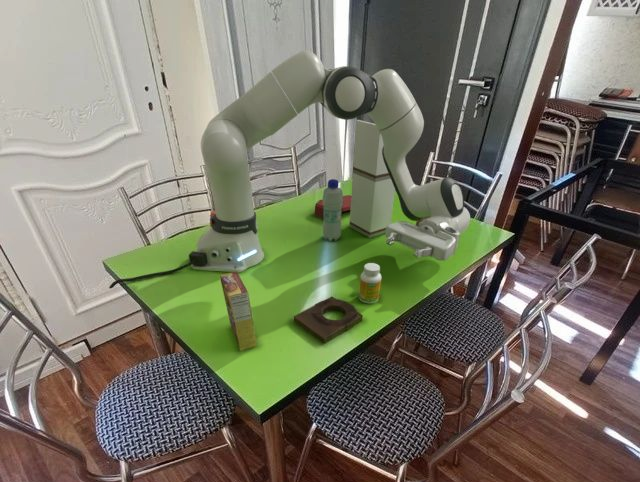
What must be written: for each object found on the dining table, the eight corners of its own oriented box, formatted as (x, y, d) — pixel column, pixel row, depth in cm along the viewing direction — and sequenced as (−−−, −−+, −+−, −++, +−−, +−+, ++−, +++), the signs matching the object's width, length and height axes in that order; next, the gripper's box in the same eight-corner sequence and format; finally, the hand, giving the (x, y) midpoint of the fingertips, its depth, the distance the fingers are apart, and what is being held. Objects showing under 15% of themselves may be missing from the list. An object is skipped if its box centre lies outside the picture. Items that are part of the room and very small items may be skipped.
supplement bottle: (364, 306, 95) (368, 274, 89) (355, 295, 99) (357, 263, 93) (382, 301, 97) (386, 269, 91) (372, 290, 101) (375, 259, 95)
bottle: (339, 243, 124) (342, 183, 111) (320, 241, 125) (320, 182, 112) (342, 235, 129) (345, 177, 116) (324, 233, 130) (324, 175, 117)
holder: (324, 344, 83) (324, 338, 82) (293, 321, 90) (292, 315, 89) (366, 319, 91) (366, 313, 90) (334, 299, 98) (334, 294, 96)
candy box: (229, 328, 88) (218, 274, 78) (247, 324, 89) (238, 270, 80) (238, 352, 81) (228, 295, 72) (257, 346, 83) (249, 290, 73)
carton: (348, 206, 160) (310, 214, 143) (349, 194, 157) (311, 201, 140) (371, 213, 154) (334, 222, 137) (373, 201, 151) (335, 209, 134)
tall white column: (392, 230, 132) (407, 122, 110) (369, 238, 127) (380, 126, 105) (371, 220, 139) (381, 116, 118) (349, 226, 134) (356, 120, 113)
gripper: (404, 212, 109) (373, 225, 102) (465, 234, 97) (436, 250, 90) (400, 232, 113) (371, 245, 106) (459, 256, 101) (431, 272, 94)
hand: (401, 248), depth 98 cm, fingers open, 8 cm apart
